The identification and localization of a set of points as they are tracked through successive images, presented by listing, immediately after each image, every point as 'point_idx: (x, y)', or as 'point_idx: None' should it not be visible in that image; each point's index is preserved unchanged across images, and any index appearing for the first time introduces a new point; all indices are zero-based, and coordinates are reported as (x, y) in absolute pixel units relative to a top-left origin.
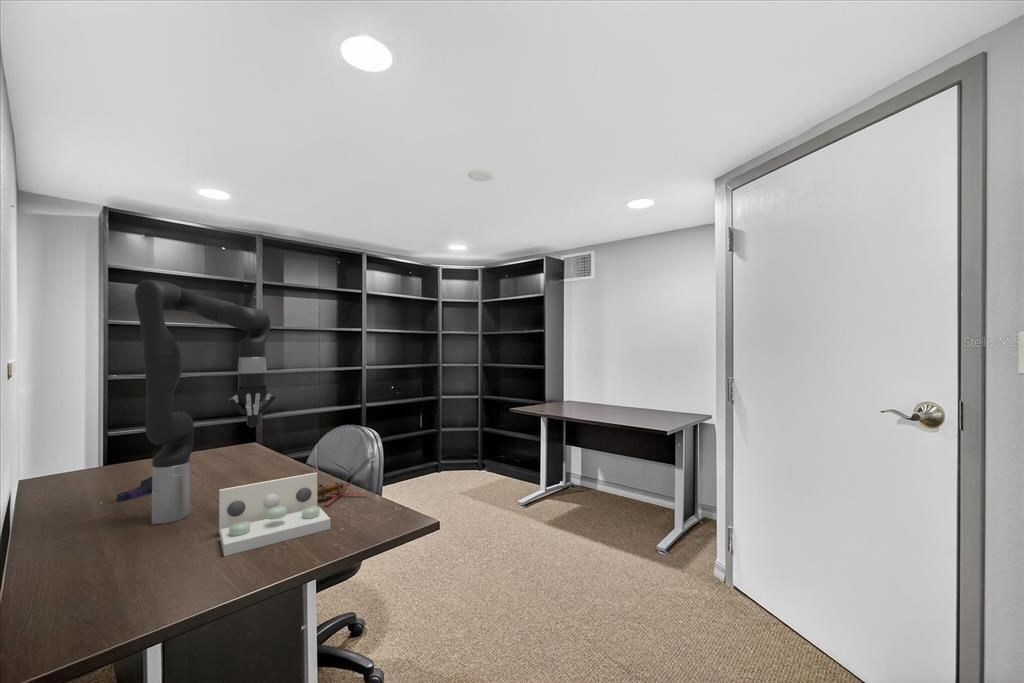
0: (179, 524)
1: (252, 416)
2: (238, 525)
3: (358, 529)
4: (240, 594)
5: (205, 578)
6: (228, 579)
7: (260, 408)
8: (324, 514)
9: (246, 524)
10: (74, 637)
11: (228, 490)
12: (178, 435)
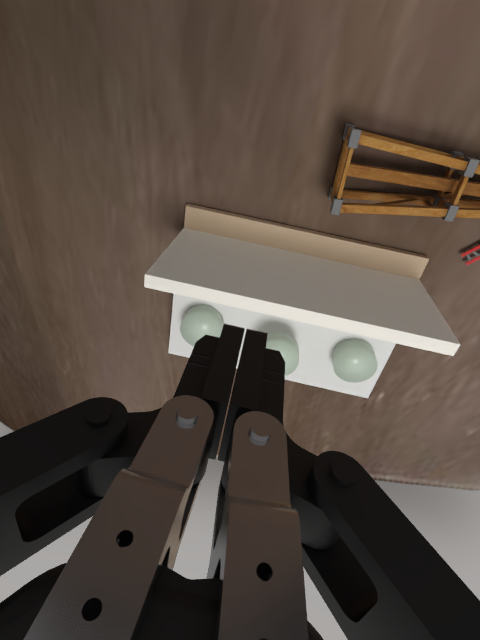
0: (103, 10)
1: (214, 451)
2: (197, 333)
3: (394, 420)
4: None
5: (142, 385)
6: None
7: (312, 517)
8: (377, 370)
9: None
10: (23, 400)
11: (170, 290)
12: None
